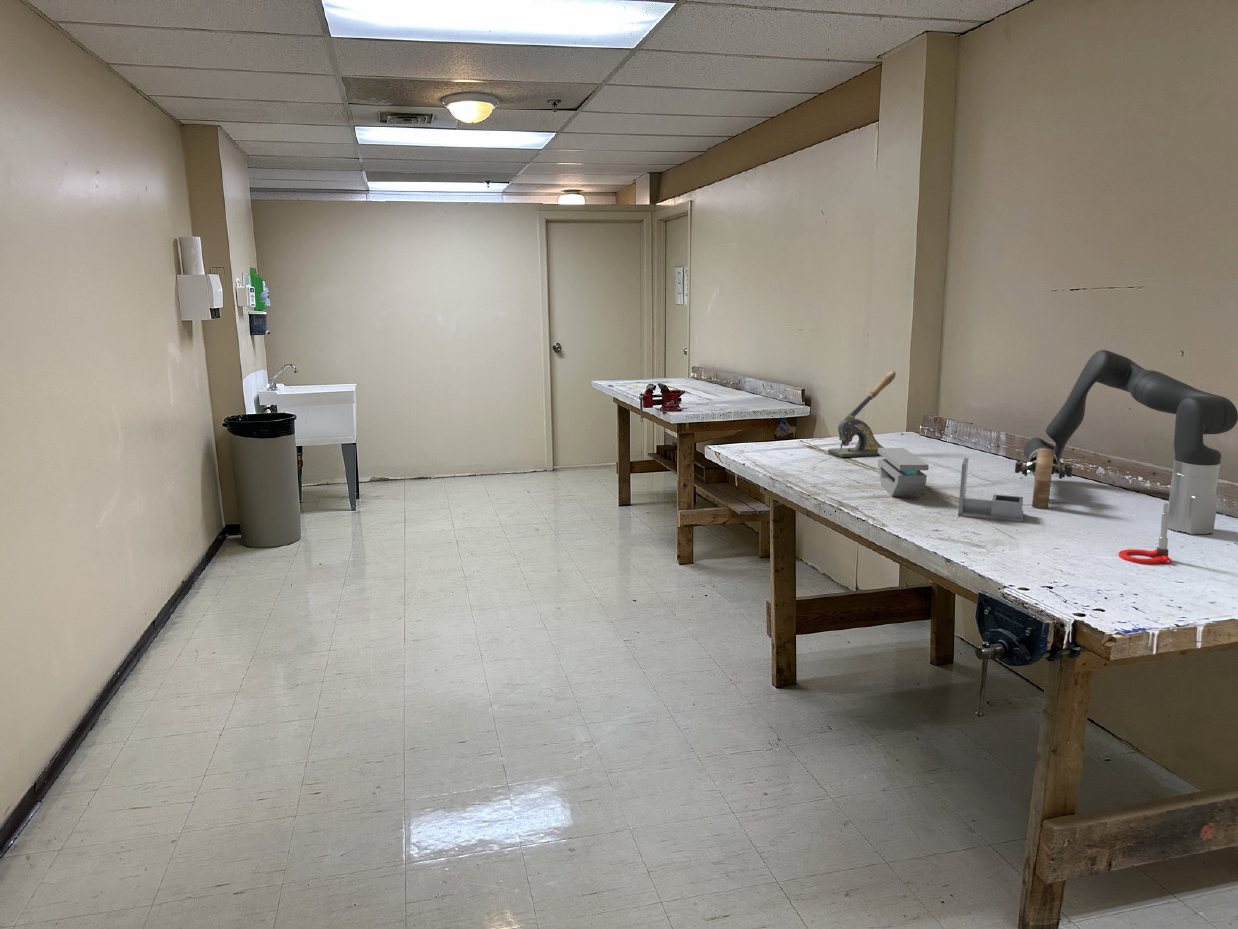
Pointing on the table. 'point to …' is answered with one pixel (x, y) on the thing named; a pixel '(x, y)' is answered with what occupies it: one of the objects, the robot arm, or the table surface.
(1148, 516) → the table surface
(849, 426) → the embossing press
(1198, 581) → the table surface
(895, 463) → the grey lidded box
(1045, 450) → the tan wooden cylinder
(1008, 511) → the bracket
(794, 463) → the table surface
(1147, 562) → the tow hook
